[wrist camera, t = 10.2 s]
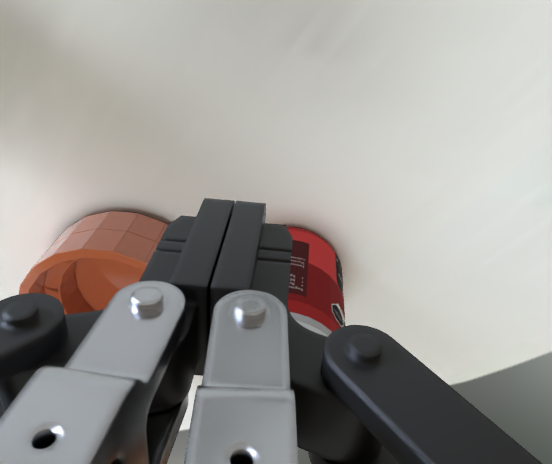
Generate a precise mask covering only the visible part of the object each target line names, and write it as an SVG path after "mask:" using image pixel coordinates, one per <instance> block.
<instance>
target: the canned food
mask: <svg viewBox="0 0 552 464" xmlns="http://www.w3.org/2000/svg"><path fill="white" fill-rule="evenodd" d="M287 229H288V230H289V232H290V234H291V235H292V237H293V241H292V254H291V267H290V280H289V293H288V309H289V312H290V314H291V315H292V317H293V318H294V319H295V320H296V321H297V322H298V323H299V324H300V325H302V326H303V327H305V328H306V329H308V330H310V331H313V332H315V333H318V334H321V335H324V336H327V337H328V336H329V335H330V334H331V333H332V332H333V331H335V330H336V329H338V328H341V327H344V326H345V313H344V297H343V281H342V268H341V264H340V261H339V259H338V257H337V255H336V253H335V252H334V250H333V249H332V247H331V246H330V245H329V244H328V243H327V242H326V241H325V240H324V239H323V238H321V237H320V236H319V235H317V234H315V233H313V232H311V231H308V230H305V229H302V228H296V227H287Z"/></svg>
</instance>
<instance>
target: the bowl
mask: <svg viewBox="0 0 552 464" xmlns="http://www.w3.org/2000/svg"><path fill="white" fill-rule="evenodd" d="M167 226H168V224H165V223H164V222H161V221H158V220H156V219H153V218H150V217H147V216H145V215H142V214H139V213H129V212H118V211H109V212H104V213H99V214H95V215H90V216H86V217H84V218H83V219H81V220H79V221H78V222H76V223H75V224H73V225H72V226H70V227H68V228H67V229H66V230H65V231H64V232H63V233H62V234H61V235H60V237H59V238H58V239H57V240H56V241H55V242H54V243H53V244H52V246H51V247H50V248H49V249H48V250H47V251H46V252H45V254H44V255H43V256H42V257H41V258H40V259H39V260H38V262H37V263H36V264H35V265H34V266H33V267H32V269H31V270H30V272H29V273H28V275H27V276H26V277H25V279H24V280H23V282H22V283H21V286H20V290H19V295H20V294H26V293H42V294H47V295H51V296H53V297H55V298H57V299H58V300H59V301H60V302H61V303H62V305H63V308H64V313H65V315H66V314H74V313H83V312H91V311H97V310H102V309H105V307H106V306H107V305H108V303H109V302H110V300H111V299H112V297H113V296H114V295H115V294H116V293H117V292H118V291H119V290H121V289H122V288H124V287H126V286H128V285H131V284H134V283H137V282H139V280H140V278H141V276H142V274H143V272H144V271H145V269H146V267H147V265H148V263H149V261H150V259H151V257H152V255H153V253H154V251H156V247H157V245H158V243H159V241H160V240H161V237H162V235H163V233H164V231H165V229H166V227H167Z"/></svg>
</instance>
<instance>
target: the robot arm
mask: <svg viewBox="0 0 552 464" xmlns="http://www.w3.org/2000/svg"><path fill="white" fill-rule="evenodd" d="M265 216H266V204H265V203H254V202H243V201H236V203H235V201H231V200H220V199H209V198H205V199H204V200H203V202H202V205H201V207H200V210H199V212H198V214H197V217H190V216H180V217H179V218H177V219H176V220H175V221H173V222H172V223H170V224H169V225H168V226H167V227H166V229H165V231H164V233H163V235H162V237H161V240H160V241H159V243H158V245H157V247H156V251H154V253H153V255H152V257H151V259H150V261H149V263H148V265H147V267H146V269H145V271H144V272H143V274H142V276H141V278H140V280H139V282H137V283H134V284H131V285H128V286H126V287H124V288H122V289H121V290H119V291H118V292H117V293H116V294H115V295H114V296H113V297H112V299H111V300H110V302H109V303H108V305H107V306H106V307H105V309H102V310H97V311H91V312H83V313H74V314H66V315H65V313H64V308H63V305H62V303H61V302H60V301H59V300H58V299H57V298H55V297H53V296H51V295H47V294H42V293H26V294H20V295H16V296H12V297H9V298H6V299H4V300H1V301H0V464H167V461H168V458H169V456H170V453H171V450H172V448H173V445H174V442H175V440H176V437H177V434H178V431H179V429H180V426H181V423H182V421H183V418H184V415H185V412H186V410H187V406H188V393H189V390H190V387H191V383H192V380H193V376H194V375H202V376H203V380H202V386H200V385H199V386H198V387H197V390H196V394H195V400H194V406H193V412H192V418H191V424H190V430H189V436H188V442H187V448H186V454H185V461H184V464H298V450H297V447H299V448H301V449H304V450H306V451H308V452H309V457H310V461H311V463H312V464H542V463H541V462H540V461H538V460H537V459H536V458H535V457H534V456H532V455H531V454H530V453H529V452H528V451H526V450H525V449H524V448H523V447H522V446H521V445H519V444H518V443H517V442H516V441H515V440H514V439H512V438H511V437H510V436H509V435H508V434H506V433H505V432H504V431H503V430H502V429H500V428H499V427H498V426H497V425H496V424H494V423H493V422H492V421H491V420H490V419H488V418H487V417H486V416H485V415H484V414H482V413H481V412H480V411H479V410H478V409H476V408H475V407H474V406H473V405H472V404H471V403H469V402H468V401H467V400H466V399H465V398H463V397H462V396H461V395H460V394H459V393H457V392H456V391H455V390H454V389H453V388H451V387H450V386H449V385H448V384H447V383H445V382H444V381H443V380H442V379H441V378H439V377H438V376H437V375H436V374H435V373H433V372H432V371H431V370H430V369H429V368H428V367H426V366H425V365H424V364H423V363H422V362H420V361H419V360H418V359H417V358H416V357H414V356H413V355H412V354H411V353H410V352H408V351H407V350H406V349H405V348H404V347H402V346H401V345H400V344H399V343H398V342H396V341H395V340H394V339H393V338H392V337H390V336H389V335H387V334H386V333H384V332H382V331H380V330H378V329H375V328H372V327H368V326H362V325H349V326H344V327H341V328H338V329H336V330H335V331H333V332H332V333H331V334H330V335H329V336H328V337H327V336H324V335H321V334H318V333H315V332H313V331H310V330H308V329H306V328H305V327H303V326H302V325H300V324H299V323H298V322H297V321H296V320H295V319H294V318H293V317H292V315H291V314H290V312H289V309H288V293H289V280H290V267H291V254H292V241H293V237H292V235H291V234H290V232H289V230H288V229H287V227H286V226H285V225H278V224H267V223H265Z"/></svg>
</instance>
